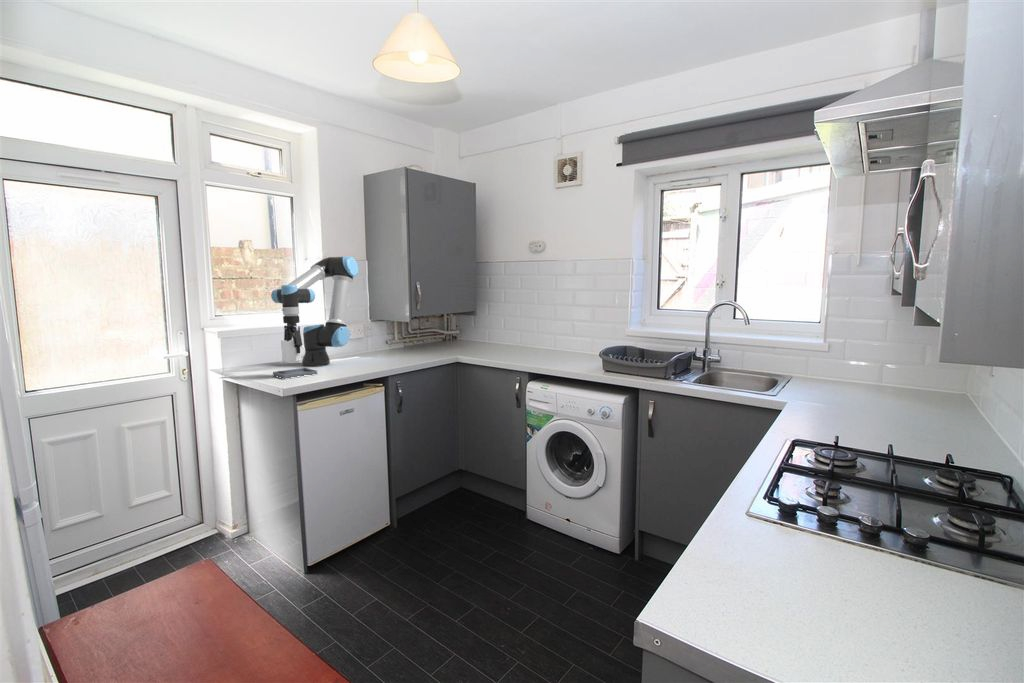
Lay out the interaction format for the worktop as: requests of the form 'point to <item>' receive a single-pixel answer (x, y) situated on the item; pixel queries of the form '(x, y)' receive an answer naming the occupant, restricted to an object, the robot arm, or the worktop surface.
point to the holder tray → (294, 372)
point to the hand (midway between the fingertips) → (293, 358)
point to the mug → (289, 351)
